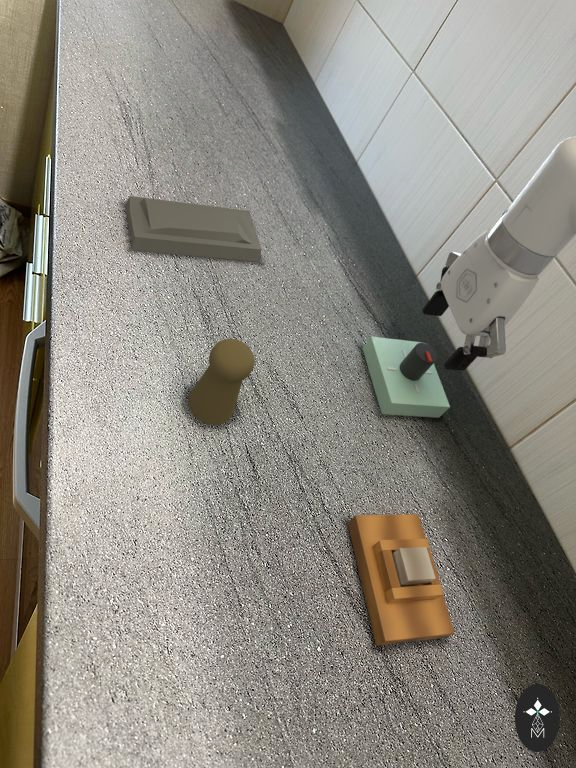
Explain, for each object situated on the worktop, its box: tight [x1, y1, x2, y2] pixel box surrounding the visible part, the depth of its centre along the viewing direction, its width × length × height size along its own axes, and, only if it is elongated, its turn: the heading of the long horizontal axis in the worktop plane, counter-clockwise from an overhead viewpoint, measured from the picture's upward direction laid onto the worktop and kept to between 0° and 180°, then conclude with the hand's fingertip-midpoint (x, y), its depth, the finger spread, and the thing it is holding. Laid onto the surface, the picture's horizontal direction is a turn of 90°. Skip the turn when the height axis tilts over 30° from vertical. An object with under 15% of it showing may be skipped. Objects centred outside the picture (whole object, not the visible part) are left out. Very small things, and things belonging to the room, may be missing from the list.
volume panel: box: [362, 336, 451, 419], centre depth 86 cm, size 10×12×3 cm
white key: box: [392, 547, 436, 585], centre depth 64 cm, size 4×4×2 cm
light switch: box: [347, 513, 456, 647], centre depth 66 cm, size 9×14×4 cm, turn 10°
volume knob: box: [400, 342, 438, 381], centre depth 83 cm, size 4×4×5 cm
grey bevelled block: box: [124, 195, 262, 263], centre depth 89 cm, size 10×20×4 cm, turn 105°
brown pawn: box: [187, 338, 255, 426], centre depth 68 cm, size 6×6×11 cm
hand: (441, 339), depth 79 cm, fingers open, 9 cm apart
